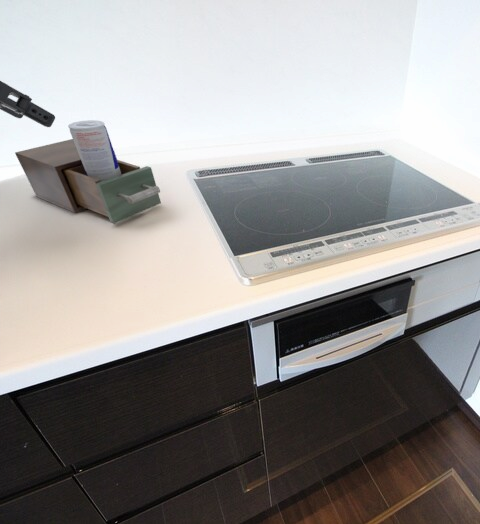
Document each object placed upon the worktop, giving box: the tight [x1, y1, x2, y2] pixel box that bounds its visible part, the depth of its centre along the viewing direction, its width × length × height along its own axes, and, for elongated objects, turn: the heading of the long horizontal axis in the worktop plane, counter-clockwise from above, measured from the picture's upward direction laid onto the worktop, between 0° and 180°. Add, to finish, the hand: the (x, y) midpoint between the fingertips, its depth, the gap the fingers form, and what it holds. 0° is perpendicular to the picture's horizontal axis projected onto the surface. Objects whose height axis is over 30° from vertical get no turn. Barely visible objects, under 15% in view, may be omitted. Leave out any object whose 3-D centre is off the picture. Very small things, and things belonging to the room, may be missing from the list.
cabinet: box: [14, 138, 118, 214], centre depth 76 cm, size 14×12×10 cm
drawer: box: [63, 159, 162, 224], centre depth 71 cm, size 17×10×8 cm, turn 62°
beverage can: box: [67, 119, 122, 182], centre depth 69 cm, size 6×6×15 cm
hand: (37, 117), depth 59 cm, fingers open, 8 cm apart
